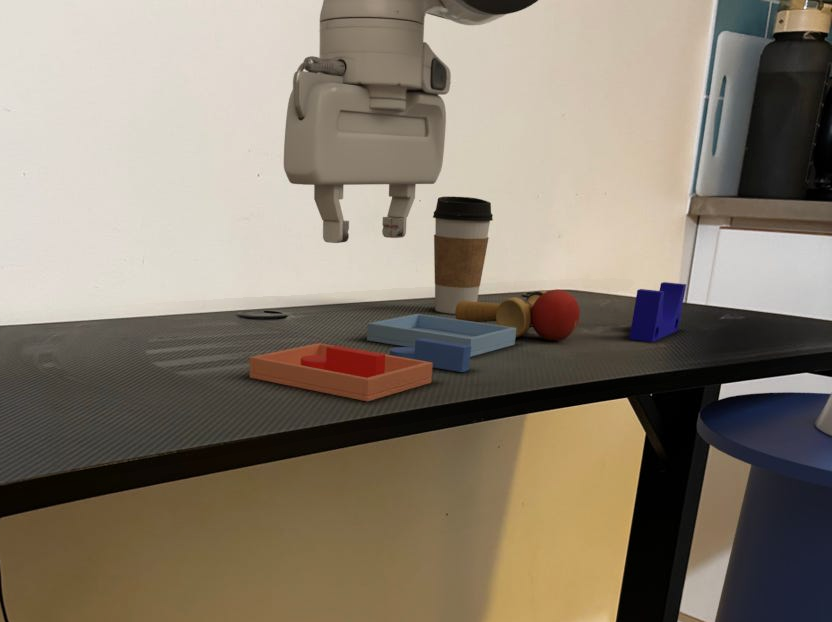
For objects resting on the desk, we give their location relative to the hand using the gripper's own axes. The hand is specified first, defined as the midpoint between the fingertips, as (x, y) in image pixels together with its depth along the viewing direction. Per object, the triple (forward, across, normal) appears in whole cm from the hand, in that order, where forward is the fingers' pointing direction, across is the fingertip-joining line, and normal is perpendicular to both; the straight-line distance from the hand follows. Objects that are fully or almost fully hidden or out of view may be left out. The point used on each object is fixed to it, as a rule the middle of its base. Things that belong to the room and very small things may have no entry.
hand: (365, 239), depth 88 cm
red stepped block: (+12, 0, +3) cm, 13 cm away
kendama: (+13, +39, +3) cm, 41 cm away
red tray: (+13, 0, +2) cm, 13 cm away
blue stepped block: (+13, +13, 0) cm, 18 cm away
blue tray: (+13, +26, +6) cm, 30 cm away
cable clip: (+14, +53, -10) cm, 55 cm away
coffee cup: (+13, +50, +18) cm, 55 cm away
